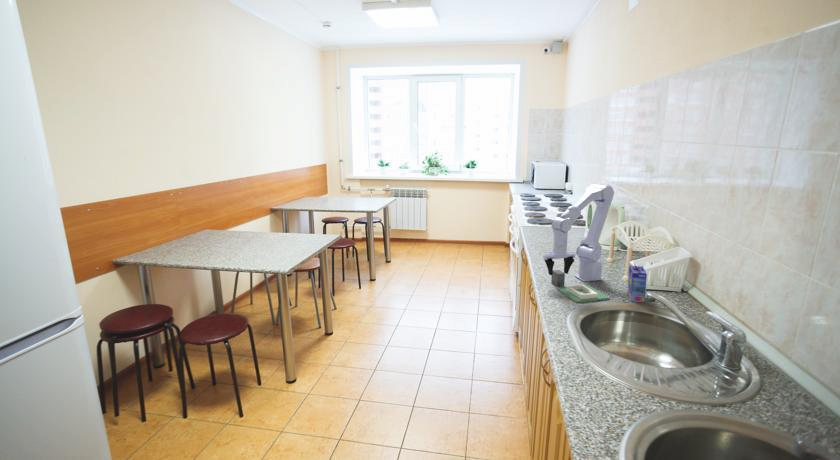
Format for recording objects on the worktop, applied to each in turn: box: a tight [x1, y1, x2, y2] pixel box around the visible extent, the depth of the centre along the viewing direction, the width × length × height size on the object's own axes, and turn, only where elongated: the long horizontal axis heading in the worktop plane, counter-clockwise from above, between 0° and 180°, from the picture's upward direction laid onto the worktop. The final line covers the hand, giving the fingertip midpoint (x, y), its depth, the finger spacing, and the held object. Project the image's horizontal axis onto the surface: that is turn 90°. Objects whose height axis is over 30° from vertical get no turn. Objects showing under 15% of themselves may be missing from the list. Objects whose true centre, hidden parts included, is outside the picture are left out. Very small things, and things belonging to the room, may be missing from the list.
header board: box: [556, 283, 611, 304], centre depth 170 cm, size 15×15×3 cm
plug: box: [551, 269, 566, 288], centre depth 181 cm, size 4×6×6 cm, turn 11°
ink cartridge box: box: [627, 262, 648, 303], centre depth 164 cm, size 10×6×14 cm, turn 161°
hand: (558, 273), depth 180 cm, fingers open, 7 cm apart
